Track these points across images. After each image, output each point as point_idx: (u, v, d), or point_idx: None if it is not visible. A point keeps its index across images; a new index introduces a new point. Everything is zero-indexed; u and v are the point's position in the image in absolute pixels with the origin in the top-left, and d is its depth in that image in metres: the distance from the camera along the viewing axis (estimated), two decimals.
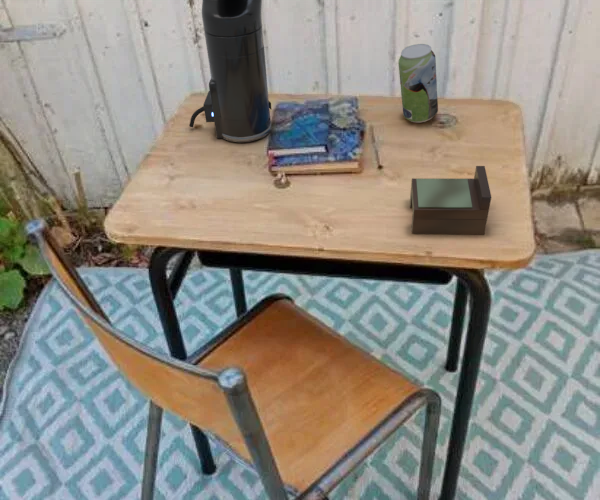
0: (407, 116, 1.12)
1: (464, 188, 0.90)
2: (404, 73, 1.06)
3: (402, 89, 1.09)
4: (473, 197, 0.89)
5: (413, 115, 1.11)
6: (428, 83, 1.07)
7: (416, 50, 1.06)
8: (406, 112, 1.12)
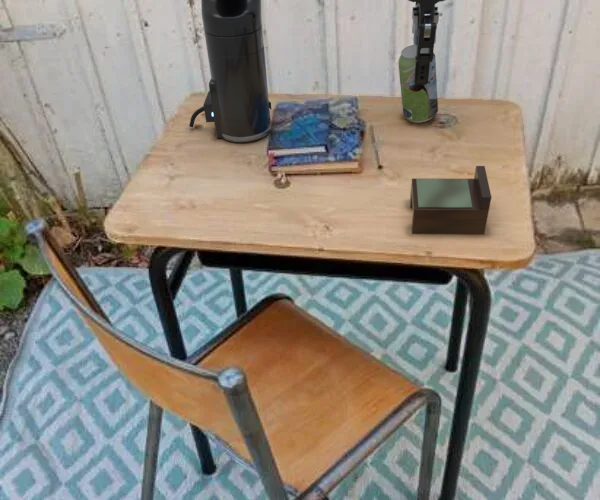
0: (407, 115, 1.12)
1: (464, 188, 0.90)
2: (404, 72, 1.06)
3: (402, 89, 1.09)
4: (473, 197, 0.89)
5: (413, 115, 1.11)
6: (428, 83, 1.07)
7: None
8: (406, 112, 1.12)
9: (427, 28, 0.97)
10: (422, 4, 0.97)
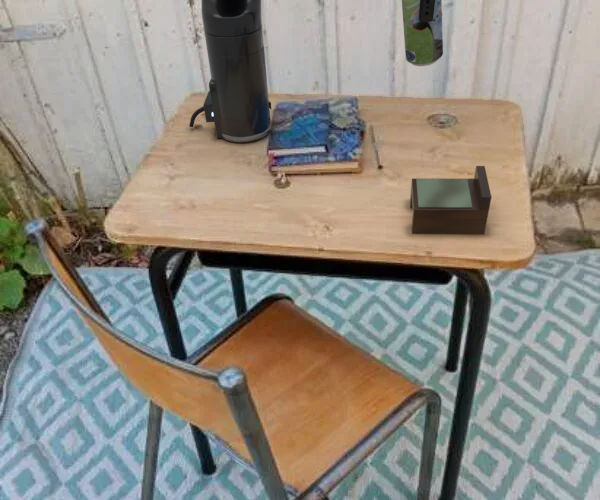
0: (410, 58, 1.05)
1: (464, 188, 0.90)
2: (408, 9, 0.99)
3: (405, 28, 1.02)
4: (473, 197, 0.89)
5: (416, 57, 1.04)
6: (433, 21, 1.00)
7: None
8: (409, 55, 1.05)
9: None
10: None
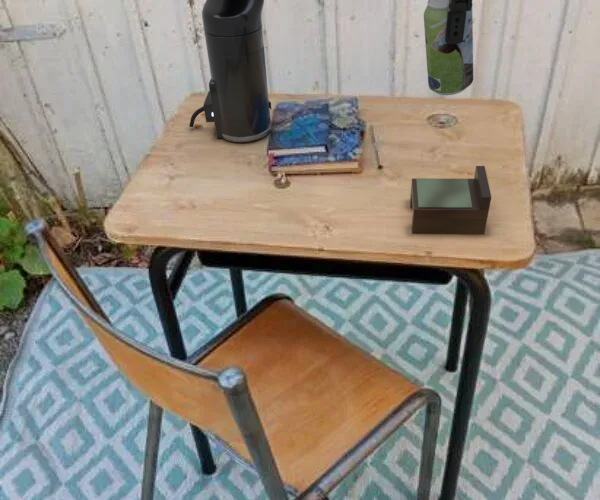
0: (435, 86, 0.87)
1: (464, 188, 0.90)
2: (432, 28, 0.82)
3: (428, 51, 0.85)
4: (473, 197, 0.89)
5: (442, 85, 0.86)
6: (463, 42, 0.82)
7: None
8: (433, 82, 0.87)
9: None
10: None
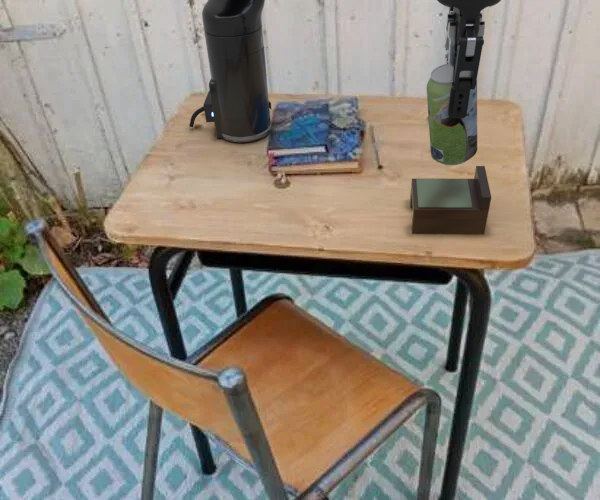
0: (437, 157, 0.84)
1: (464, 188, 0.90)
2: (435, 102, 0.79)
3: (431, 122, 0.82)
4: (473, 197, 0.89)
5: (445, 156, 0.84)
6: (467, 116, 0.80)
7: (451, 71, 0.78)
8: (435, 152, 0.84)
9: (470, 44, 0.69)
10: (463, 10, 0.70)
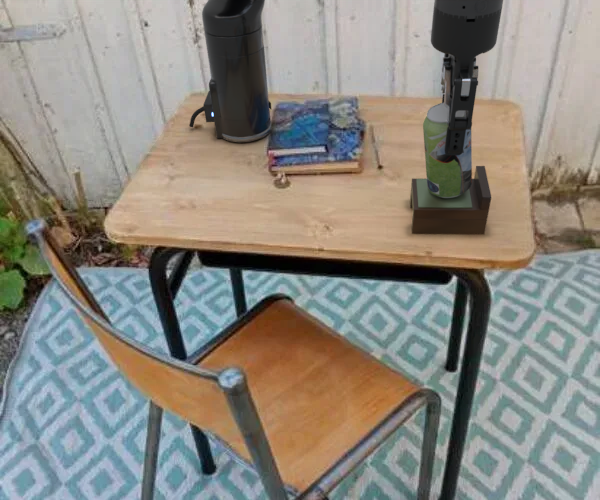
0: (433, 190, 0.88)
1: None
2: (431, 139, 0.82)
3: (427, 158, 0.85)
4: (473, 197, 0.89)
5: (441, 190, 0.87)
6: (462, 153, 0.83)
7: (446, 110, 0.82)
8: (431, 186, 0.88)
9: (465, 84, 0.72)
10: (458, 57, 0.73)
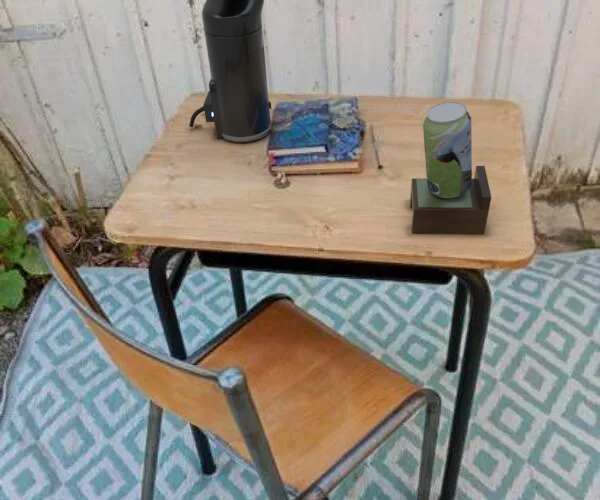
0: (433, 190, 0.88)
1: None
2: (431, 139, 0.82)
3: (427, 158, 0.85)
4: (473, 197, 0.89)
5: (441, 190, 0.87)
6: (462, 153, 0.83)
7: (446, 110, 0.82)
8: (431, 186, 0.88)
9: None
10: None
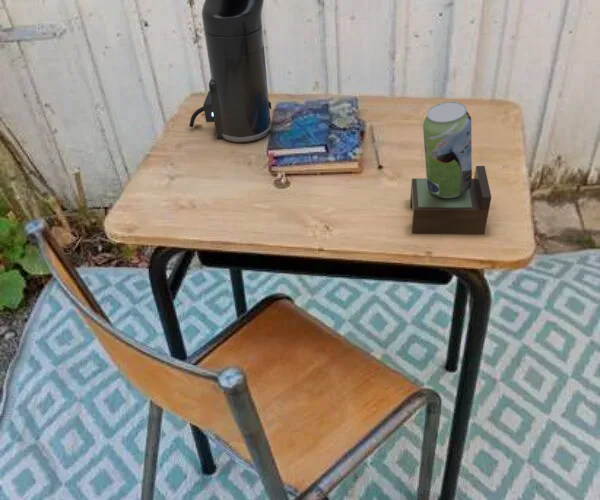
0: (433, 190, 0.88)
1: None
2: (431, 139, 0.82)
3: (427, 158, 0.85)
4: (473, 197, 0.89)
5: (441, 190, 0.87)
6: (462, 153, 0.83)
7: (446, 110, 0.82)
8: (431, 186, 0.88)
9: None
10: None
